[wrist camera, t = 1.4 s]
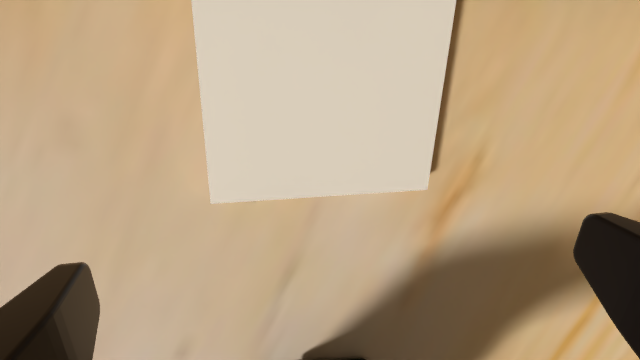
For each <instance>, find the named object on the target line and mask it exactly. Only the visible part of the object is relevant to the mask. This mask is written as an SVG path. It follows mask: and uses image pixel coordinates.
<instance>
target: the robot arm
mask: <svg viewBox="0 0 640 360" xmlns="http://www.w3.org/2000/svg"><path fill="white" fill-rule="evenodd" d="M573 254H574V259H575V261H576V263H577V265H578V266H579V268H580V270H581V271H582V273H583V274H584V276H585V278H586V279H587V281H588V283H589V284H590V286H591V287H592V289H593V291H594V292H595V294H596V296H597V297H598V299H599V300H600V302H601V304H602V305H603V307H604V308H605V310H606V312H607V313H608V315H609V317H610V318H611V320H612V321H613V323H614V324H615V326H616V327H617V329H618V330H619V332H620V333H621V335H622V336H623V337H624V339H625V340H626V341H627V343H628V344H629V345H630V347H631V348H632V349H633V351H634V352H635V353H636V355H637V356H638V357H639V359H640V222H637V221H634V220H631V219H628V218H625V217H622V216H619V215H616V214H613V213H607V212H606V213H596V214H590V215H588V216H586V217H585V219H584V220H583V222H582V225H581V228H580V231H579V234H578V237H577V240H576V243H575V246H574V249H573ZM99 315H100V304H99V299H98V295H97V291H96V288H95V284H94V281H93V277H92V274H91V270H90V268H89V266H88V265H87V264H86V263H84V262H80V263H69V264H60V265H57V266H56V267H54V268H53V269H52V270H50V271H49V272H48V273H46V274H45V275H44V276H42V277H41V278H40V279H38V280H37V281H36V282H34V283H33V284H32V285H30V286H29V287H28V288H26V289H25V290H24V291H22V292H21V293H20V294H18V295H17V296H15V297H14V298H13V299H11V300H10V301H9V302H7V303H6V304H5V305H3V306H2V307H1V308H0V360H92V359H93V352H94V346H95V340H96V334H97V328H98V322H99ZM354 360H365V359H354Z"/></svg>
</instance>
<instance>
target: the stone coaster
mask: <svg viewBox="0 0 640 360" xmlns="http://www.w3.org/2000/svg"><path fill="white" fill-rule="evenodd" d="M191 2H192V12H193V23H194V33H195V44H196V54H197V65H198V75H199V86H200V96H201V107H202V117H203V128H204V138H205V149H206V159H207V170H208V181H209V191H210V202H211V204H215V203H231V202H246V201H261V200H277V199H292V198H308V197H323V196H338V195H354V194H369V193H385V192H400V191H416V190H427V189H428V182H429V176H430V169H431V163H432V156H433V150H434V143H435V137H436V130H437V124H438V117H439V111H440V104H441V97H442V91H443V84H444V78H445V71H446V65H447V58H448V52H449V45H450V39H451V32H452V26H453V19H454V13H455V6H456V0H191Z"/></svg>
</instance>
